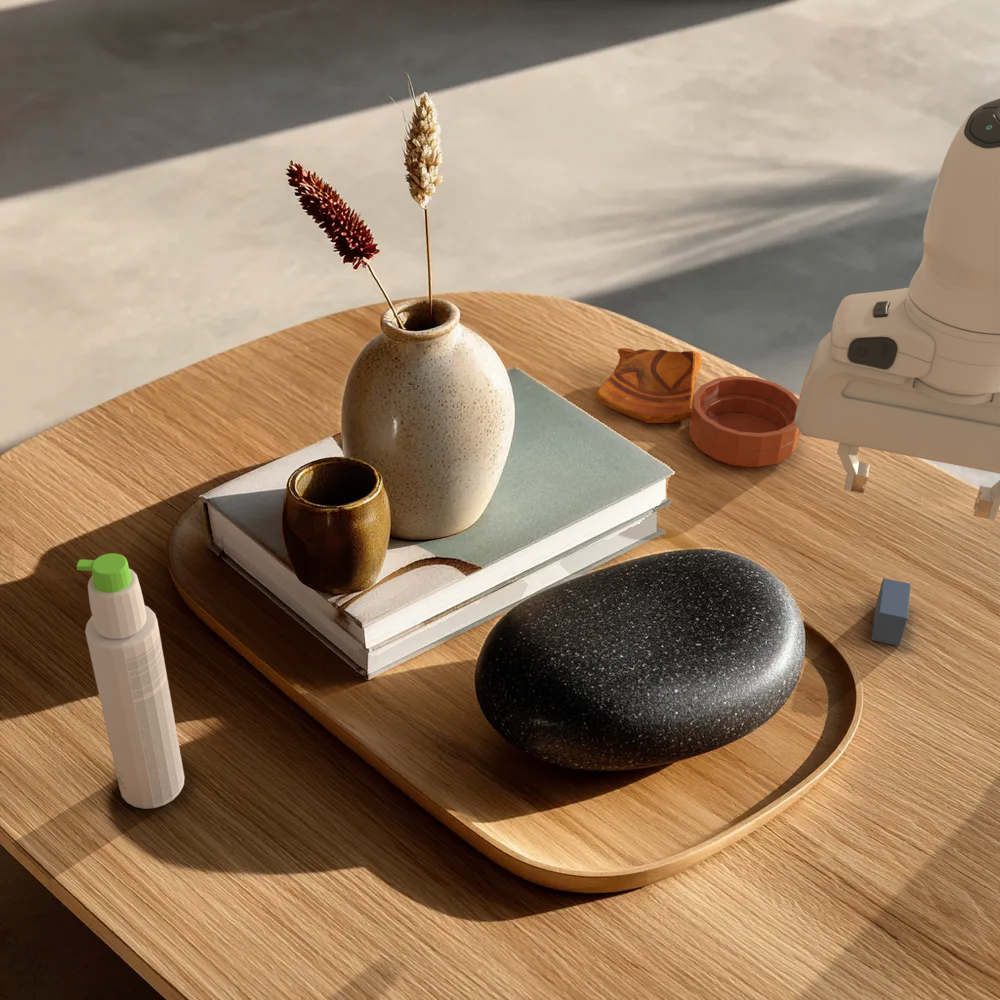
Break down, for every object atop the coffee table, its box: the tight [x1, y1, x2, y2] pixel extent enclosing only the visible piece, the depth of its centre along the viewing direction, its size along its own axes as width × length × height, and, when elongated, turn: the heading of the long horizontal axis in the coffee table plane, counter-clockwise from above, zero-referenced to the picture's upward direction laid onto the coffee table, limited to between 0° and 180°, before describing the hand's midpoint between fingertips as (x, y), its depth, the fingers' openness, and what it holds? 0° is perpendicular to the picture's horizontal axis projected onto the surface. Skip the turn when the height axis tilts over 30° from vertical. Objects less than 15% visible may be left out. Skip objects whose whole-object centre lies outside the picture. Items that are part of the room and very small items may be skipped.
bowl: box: [688, 375, 801, 468], centre depth 126 cm, size 10×10×4 cm
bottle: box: [76, 552, 185, 810], centre depth 86 cm, size 4×4×20 cm
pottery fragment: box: [593, 347, 703, 424], centre depth 132 cm, size 10×5×10 cm
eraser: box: [871, 577, 912, 647], centre depth 106 cm, size 4×2×3 cm, turn 163°
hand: (918, 500), depth 99 cm, fingers open, 8 cm apart
